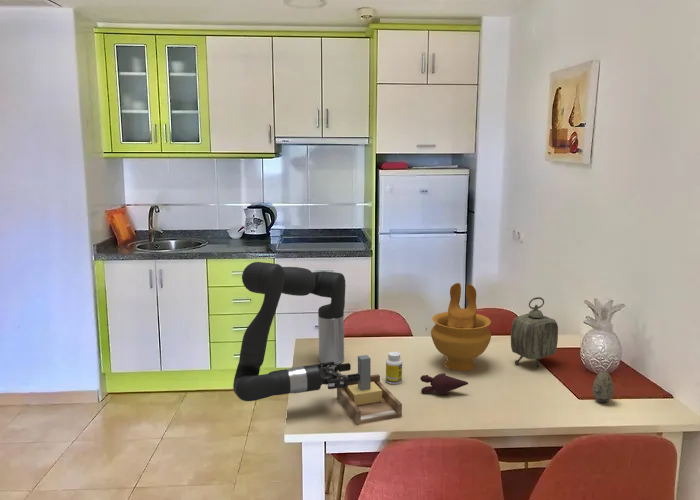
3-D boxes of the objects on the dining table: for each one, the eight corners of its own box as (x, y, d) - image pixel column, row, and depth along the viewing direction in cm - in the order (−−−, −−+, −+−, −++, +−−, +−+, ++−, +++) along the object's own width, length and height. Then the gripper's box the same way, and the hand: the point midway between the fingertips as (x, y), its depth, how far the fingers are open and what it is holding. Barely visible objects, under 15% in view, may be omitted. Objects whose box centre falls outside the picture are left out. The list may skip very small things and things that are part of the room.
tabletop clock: (539, 357, 211) (543, 292, 207) (558, 365, 203) (562, 298, 199) (509, 364, 205) (512, 297, 201) (527, 372, 197) (530, 303, 193)
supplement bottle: (400, 385, 188) (401, 357, 186) (384, 384, 189) (384, 356, 187) (402, 378, 193) (403, 351, 191) (386, 377, 194) (387, 350, 192)
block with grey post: (346, 396, 177) (346, 355, 174) (373, 392, 180) (373, 351, 177) (354, 405, 170) (354, 363, 168) (382, 401, 173) (382, 359, 171)
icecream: (466, 370, 184) (420, 372, 186) (468, 373, 176) (419, 375, 178) (468, 392, 183) (421, 393, 185) (469, 396, 176) (421, 397, 178)
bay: (337, 398, 178) (336, 380, 177) (378, 391, 183) (378, 374, 181) (356, 424, 161) (356, 404, 160) (401, 416, 166) (402, 397, 165)
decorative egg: (611, 407, 171) (613, 376, 169) (590, 403, 174) (592, 372, 172) (614, 400, 176) (616, 369, 174) (593, 395, 179) (595, 365, 177)
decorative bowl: (423, 371, 199) (425, 288, 193) (437, 351, 218) (439, 275, 213) (484, 380, 191) (488, 294, 186) (493, 358, 210) (497, 279, 205)
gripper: (308, 376, 160) (362, 368, 165) (296, 358, 173) (347, 351, 178) (309, 401, 161) (363, 392, 166) (297, 381, 174) (347, 374, 180)
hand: (354, 371), depth 172 cm, fingers open, 8 cm apart
